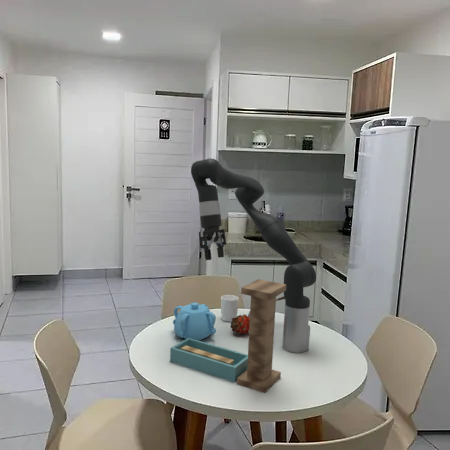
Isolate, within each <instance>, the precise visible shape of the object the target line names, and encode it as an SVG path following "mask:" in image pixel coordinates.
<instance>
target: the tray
mask: <svg viewBox="0 0 450 450" xmlns="http://www.w3.org/2000/svg"><path fill="white" fill-rule="evenodd" d="M184 346H190V347H193V348H196V349H199V350H203V351H206V352H209V353H213V354H216V355H219V356H223V357H226V358H229V359H233V360H234V366H233V365H229V364H226V363H223V362H220V361H216V360H213V359H210V358H206V357H203V356H200V355H197V354H193V353H190V352H187V351H183V350H181V348H182V347H184ZM169 350H170V351H169V352H170V353H169V354H170V355H169V362H171V363H173V364H176V365H179V366H183V367H185V368H186V367H187V368H189V369H193V370H194V371H197V372H202V373H203V374H207V375H210V376H212V377H216V378H219V379H223V380H226V381H229V382H232V383H237V378H238V377H239V376H240V375H241V374H243V373H244V372H245V371H246V370H247V364H248V353H243V352H239V351H237V350H232V349H229V348H226V347H222V346H219V345H215V344H212V343H209V342H204V341H201V340H200V341H198V340H194V339H191V338H187V339H185V338H184V340H182V341H180V342H179V343H177V344H175V345H173V346H172V347H170V349H169Z"/></svg>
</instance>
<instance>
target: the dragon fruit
mask: <svg viewBox="0 0 450 450" xmlns="http://www.w3.org/2000/svg"><path fill="white" fill-rule="evenodd" d="M249 325H250V317H248V315H247V314H245V313H244V314H242V315H241V314H240V315H237V317H236V318H232V322H230V329H231V331H232V332H234V333H235V332H236V334H237V335H239V336H240V335H242V334H244V335H246V334H247V335H249Z"/></svg>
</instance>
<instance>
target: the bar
mask: <svg viewBox="0 0 450 450" xmlns="http://www.w3.org/2000/svg"><path fill="white" fill-rule="evenodd" d="M181 350H183V351H187V352H190V353H193V354H197V355H200V356H203V357H206V358H210V359H213V360H216V361H220V362H223V363H226V364H229V365H233V366H234V360H233V359H229V358H226V357H223V356H219V355H216V354H213V353H209V352H206V351H203V350H199V349H196V348H193V347H190V346H184V347H182V348H181Z"/></svg>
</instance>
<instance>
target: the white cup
mask: <svg viewBox="0 0 450 450" xmlns="http://www.w3.org/2000/svg"><path fill="white" fill-rule="evenodd" d="M239 299H240V297H238V296H237V295H233V294H224V295H221V296H220V313H221V314H220V315H221V320H222V321H224V322H230V323H232V318H236V317H237V316H238V311H239V310H238V309H239V301H240V300H239Z"/></svg>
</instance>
